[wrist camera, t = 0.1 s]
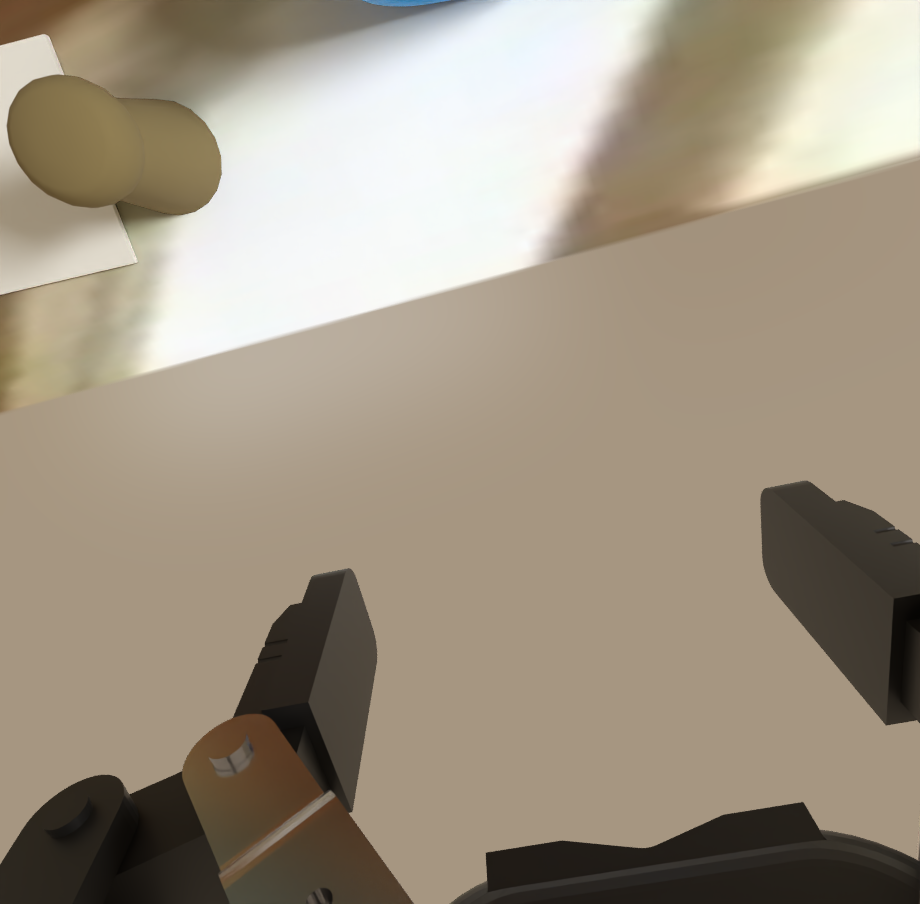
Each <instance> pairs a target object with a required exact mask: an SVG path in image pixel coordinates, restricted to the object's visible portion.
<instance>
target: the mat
mask: <svg viewBox="0 0 920 904" xmlns="http://www.w3.org/2000/svg"><path fill="white" fill-rule="evenodd" d="M56 74H59V75H64V73H63V71H62V68H61V66H60V63H59V61H58V58H57V55H56V53H55V50H54V48H53V45H52V43H51V40H50V38H49V36H47V35H45V34H43V35H39V36H35V37H32V38H28V39H24V40H20V41H16V42H13V43H9V44H5V45H1V46H0V295H2V294H6V293H10V292H15V291H19V290H23V289H27V288H32V287H36V286H40V285H45V284H49V283H53V282H57V281H62V280H66V279H70V278H74V277H79V276H83V275H87V274H92V273H96V272H100V271H104V270H109V269H113V268H117V267H121V266H126V265H130V264H134V263H138V261H137V258H136V256H135V253H134V251H133V248H132V245H131V243H130V240H129V238H128V235H127V233H126V230H125V228H124V225H123V223H122V220H121V218H120V215H119V213H118V210H117V207H116V205H115V204H112V205H108V206H104V207H99V208H87V207H78V206H72V205H70V204H67V203H65V202H63V201H60V200H58V199H56V198H53V197H51V196H49V195H47V194H46V193H45V192H43V191H42V190H41V189H40V188H38V187H37V186H36V185H35V184H33V183H32V182H31V181H30V179H29V178H28V177H27V175H26V174H25V173H24V172H23V170H22V169H21V168H20V166H19V165H18V163H17V161H16V159H15V156H14V154H13V152H12V150H11V147H10V145H9V140H8V133H7V126H6V125H7V119H8V113H9V108H10V105H11V104H12V102H13V100H14V98H15V96H16V95H17V93H18V91H19V90H20V89H21V88H23V87H24V86H25V85H27V84H28V83H29V82H31V81H32V80H34V79H38V78H42V77H46V76H50V75H56Z"/></svg>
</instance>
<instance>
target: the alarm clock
mask: <svg viewBox="0 0 920 904" xmlns="http://www.w3.org/2000/svg"><path fill="white" fill-rule="evenodd" d="M363 1H365V2H368V3H372V4H376V5H383V6H417V5H426V4H433V3H439V2H444V1H449V0H363Z"/></svg>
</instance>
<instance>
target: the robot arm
mask: <svg viewBox="0 0 920 904" xmlns="http://www.w3.org/2000/svg"><path fill="white" fill-rule="evenodd" d="M761 528H762V555H763V556H762V557H763V565H764V569H765V573H766V576H767V578H768V581H769V583H770V585H771V587H772V588H773V590H774V591H775V592H776V594H777V595H778V596H779V598H780V599H781V600H782V601H783V602H784V604H785V605H786V606H787V607H788V608H789V609H790V611H791V612H792V613H793V614H794V615H795V617H796V618H797V619H798V620H799V621H800V623H801V624H802V625H803V626H804V627H805V629H806V630H807V631H808V632H809V633H810V635H811V636H812V637H813V638H814V639H815V641H816V642H817V643H818V644H819V645H820V647H821V648H822V649H823V650H824V651H825V652H826V654H827V655H828V656H829V657H830V659H831V660H832V661H833V662H834V663H835V665H836V666H837V667H838V668H839V669H840V671H841V672H842V673H843V674H844V675H845V677H846V678H847V679H848V680H849V681H850V683H851V684H852V685H853V686H854V687H855V689H856V690H857V691H858V692H859V693H860V695H861V696H862V697H863V698H864V699H865V701H866V702H867V703H868V704H869V705H870V707H871V708H872V709H873V710H874V711H875V713H876V714H877V715H878V716H879V717H880V719H881V720H882V721H883V722H884V723H885V725H891V724H897V723H903V722H909V721H915V720H918V722H919V723H920V545H919V544H918V543H913V542H912V539H911V538H909V537H908V536H907V535H906V534H904V533H903V532H901V531H900V530H895V527H894V526H893V525H892V524H890V523H889V522H888V521H886V520H885V519H884V518H882V517H881V516H879V515H878V514H877V513H875V512H874V511H872V510H869V509H866V508H863V507H861V506H858V505H856V504H853V503H850V502H847V501H845V500H842V501H837V502H835V501H834V500H833V499H831V498H830V497H829V496H828V495H826V494H825V493H824V492H823V491H821V490H820V489H819V488H817V487H816V486H815V485H813V484H812V483H811V482H808V481H800V482H795V483H790V484H785V485H780V486H775V487H770V488H765V489H764V490H763V492H762V494H761ZM376 664H377V648H376V640H375V635H374V631H373V628H372V625H371V622H370V619H369V616H368V612H367V610H366V607H365V604H364V601H363V597H362V594H361V591H360V588H359V585H358V582H357V579H356V577H355V575H354V572H353V571H352V570H351V569H349V568H348V569H344V570H338V571H333V572H328V573H323V574H318V575H314V576H312V577H311V580H310V582H309V585H308V587H307V590H306V593H305V595H304V599H303V601H302V603H299V604H294V605H290V606H289V607H288V608H287V609H286V610H285V611H284V612H283V614H282V615H281V616H280V617H279V618H278V619H277V620H276V621H275V622H274V623H273V625H272V627H271V630H270V632H269V634H268V637H267V639H266V641H265V647H263V648H262V651H261V653H260V655H259V658H258V663H257V664H256V665H255V667H254V669H253V672H252V674H251V676H250V679H249V681H248V684H247V686H246V688H245V691H244V693H243V695H242V698H241V700H240V702H239V705H238V707H237V709H236V712H235V714H234V717H233V718H232V719H230V720H227V721H225V722H223V723H222V724H220V725H218V726H216V727H215V728H214V729H212V730H211V731H209V732H208V733H207V734H206V735H204V736H203V737H202V738H201V739H200V740H199V741H198V742H197V743H196V745H195V746H194V747H193V748H192V750H191V751H190V753H189V755H188V756H187V758H186V760H185V763H184V765H183V769H182V772H179V773H177V774H175V775H173V776H171V777H168V778H166V779H164V780H162V781H159V782H157V783H155V784H152V785H150V786H148V787H146V788H143V789H141V790H139V791H136V792H134V793H132V794H129V793H128V792H127V790H126V788H125V787H124V785H123V783H122V782H121V780H120V779H119V778H117V777H115V776H112V775H98V776H93V777H90V778H86V779H84V780H82V781H79V782H77V783H75V784H73V785H71V786H69V787H68V788H66V789H64V790H63V791H61V792H60V793H58V794H57V795H55V796H54V797H53V798H52V799H50V800H49V801H48V802H47V803H45V804H44V805H43V806H42V807H41V808H40V809H39V810H38V811H37V812H36V813H35V814H34V815H33V816H32V818H31V819H30V820H29V821H28V822H27V824H26V825H25V827H24V828H23V830H22V831H21V833H20V834H19V836H18V837H17V839H16V841H15V842H14V844H13V845H12V847H11V848H10V850H9V852H8V853H7V855H6V856H5V858H4V859H3V861H2V863H1V864H0V904H414V903H413V902H412V900H411V899H410V898H409V896H408V895H407V893H406V892H405V891H404V889H403V888H402V886H401V885H400V884H399V882H398V881H397V880H396V878H395V877H394V875H393V874H392V873H391V871H390V870H389V869H388V867H387V866H386V864H385V863H384V862H383V860H382V859H381V858H380V856H379V855H378V853H377V852H376V851H375V849H374V848H373V846H372V845H371V844H370V842H369V841H368V840H367V838H366V837H365V835H364V834H363V833H362V831H361V830H360V828H359V827H358V826H357V824H356V823H355V821H354V820H353V819H352V817H351V816H350V815H349V813H350V812H352V810H353V805H354V799H355V792H356V786H357V780H358V774H359V768H360V762H361V755H362V750H363V744H364V737H365V731H366V725H367V719H368V713H369V707H370V700H371V694H372V689H373V682H374V676H375V670H376ZM486 866H487V881H486V882H484V883H482V884H480V885H477V886H475V887H474V888H472V889H470V890H469V891H467V892H466V893H464V894H462V895H461V896H459V897H458V898H457V899H455V900H454V901H453V902H452V903H450V904H920V819H919V832H918V847H917V859H914V858H912V857H910V856H908V855H906V854H904V853H902V852H899V851H897V850H894V849H892V848H889V847H887V846H884V845H882V844H879V843H877V842H873V841H870V840H866V839H863V838H860V837H856V836H853V835H848V834H842V833H838V832H833V831H825V830H819V828H818V826H817V825H816V823H815V821H814V820H813V818H812V816H811V815H810V813H809V811H808V809H807V808H806V806H805V804H804V803H803V802H801V803H795V804H788V805H782V806H776V807H770V808H764V809H757V810H751V811H745V812H738V813H732V814H726V815H722V816H720V817H718V818H715V819H713V820H711V821H709V822H707V823H704V824H703V825H700V826H698V827H696V828H693V829H691V830H689V831H687V832H685V833H682V834H680V835H678V836H676V837H674V838H671V839H669V840H667V841H665V842H663V843H660V844H658V845H656V846H653V847H649V848H632V847H621V846H611V845H601V844H590V843H580V842H570V841H557V842H550V843H544V844H538V845H532V846H525V847H519V848H513V849H506V850H500V851H495V852H488V853H486Z"/></svg>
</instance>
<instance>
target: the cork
mask: <svg viewBox="0 0 920 904" xmlns="http://www.w3.org/2000/svg"><path fill="white" fill-rule="evenodd" d="M6 126H7V133H8V140H9V145H10V147H11V150H12V152H13V154H14V156H15V159H16V161H17V163H18V165H19V166H20V168H21V169H22V170H23V172H24V173H25V174H26V175H27V177H28V178H29V179H30V181H31V182H32V183H33V184H35V185H36V186H37V187H38V188H40V189H41V190H42V191H43V192H45V193H46V194H47V195H49V196H51V197H53V198H56V199H58V200H60V201H63V202H65V203H67V204H70V205H72V206H78V207H87V208H99V207H104V206H108V205H112V204H116V203H117V202H119V201H124V202H127V203H130V204H134V205H137V206H141V207H144V208H148V209H151V210H155V211H158V212H162V213H166V214H175V215H183V214H187V213H191V212H195V211H197V210H198V209H200V208H201V207H203V206H204V205H206V204H207V203H208V202H209V201H210V200H211V198H212V197H213V195H214V194H215V192H216V191H217V189H218V185H219V181H220V178H221V174H222V173H221V155H220V152H219V149H218V146H217V142H216V139H215V137H214V136H213V134H212V133H211V131H210V130H209V128H208V126H207V125H206V123H205V122H204V121H203V120H202V119H201V118H199V117H198V116H197V115H196V114H195V113H194V112H193V111H192V110H191V109H189V108H186V107H184V106H182V105H180V104H178V103H176V102H174V101H165V100H157V99H129V98H114V97H113V96H112V95H111V94H110V93H109V92H108V91H106V90H105V89H104V88H102V87H100V86H98V85H95V84H93V83H91V82H89V81H87V80H85V79H82V78H79V77H75V76H67V75H59V74H56V75H50V76H46V77H42V78H38V79H34V80H32V81H31V82H29V83H28V84H27V85H25V86H24V87H23V88H21V89H20V90H19V91H18V93H17V95H16V96H15V98H14V100H13V102H12V104H11V105H10V108H9V113H8V119H7V125H6Z"/></svg>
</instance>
